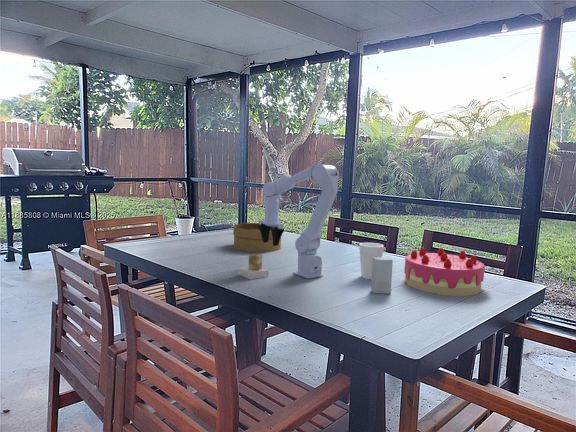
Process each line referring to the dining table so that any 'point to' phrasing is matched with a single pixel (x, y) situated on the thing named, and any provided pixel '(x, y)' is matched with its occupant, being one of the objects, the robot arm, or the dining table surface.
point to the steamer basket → (252, 238)
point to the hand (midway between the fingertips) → (270, 243)
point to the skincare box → (381, 275)
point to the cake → (444, 273)
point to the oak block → (255, 262)
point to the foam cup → (369, 257)
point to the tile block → (253, 273)
